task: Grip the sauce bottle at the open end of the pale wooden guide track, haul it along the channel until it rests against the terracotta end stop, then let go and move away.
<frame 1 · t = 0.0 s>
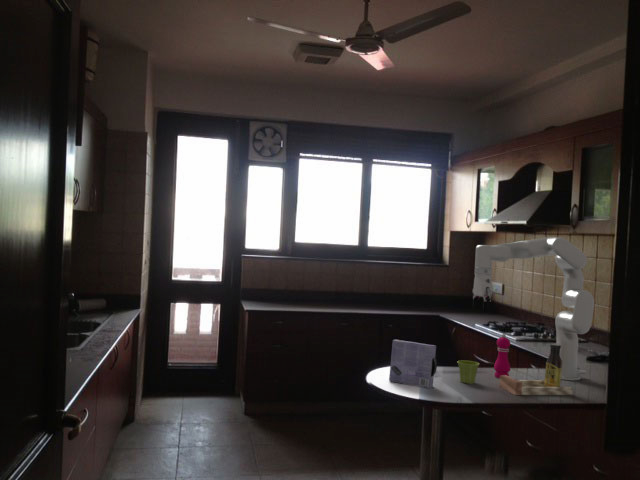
hand: (481, 309, 256), 31 cm above the countertop, tool pointing down, fingers open, 9 cm apart
pepper mill: (501, 377, 258), on the countertop
cake pan box: (412, 384, 235), on the countertop
sauce bottle: (552, 391, 236), on the countertop
guide track: (535, 390, 235), on the countertop
plant pot: (467, 382, 244), on the countertop
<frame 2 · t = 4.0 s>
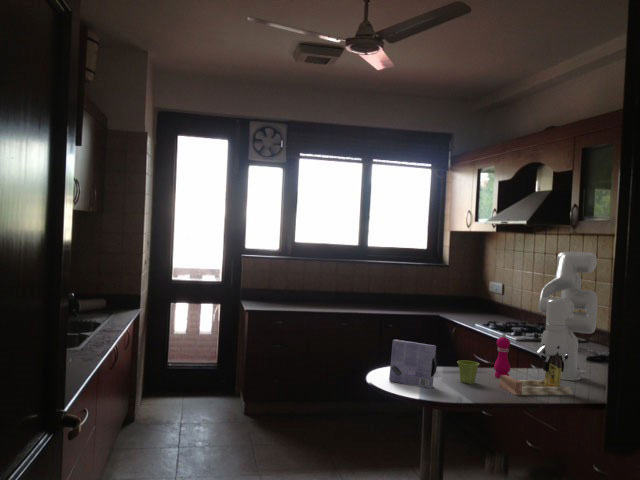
hand: (553, 370, 236), 9 cm above the countertop, tool pointing down, fingers closed on sauce bottle, 6 cm apart
sauce bottle: (552, 391, 236), on the countertop, touching gripper
everything else where it was.
when the fingers open (9 cm above the countertop, at t = 9.8 s): sauce bottle stays where it is, on the countertop.
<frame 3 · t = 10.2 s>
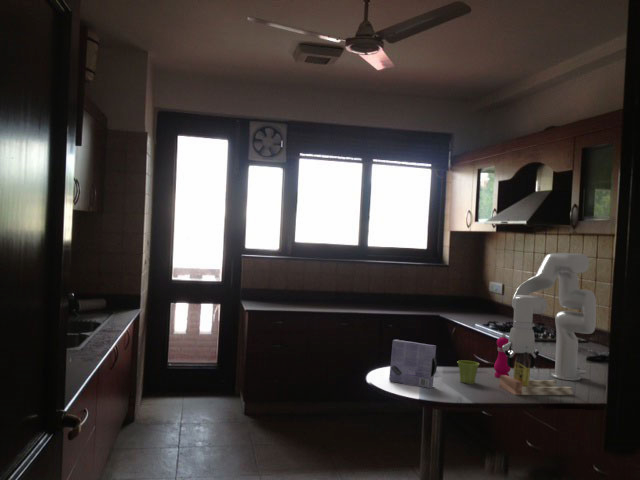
hand: (520, 366, 233), 10 cm above the countertop, tool pointing down, fingers open, 9 cm apart
sauce bottle: (520, 391, 234), on the countertop
everything else where it was.
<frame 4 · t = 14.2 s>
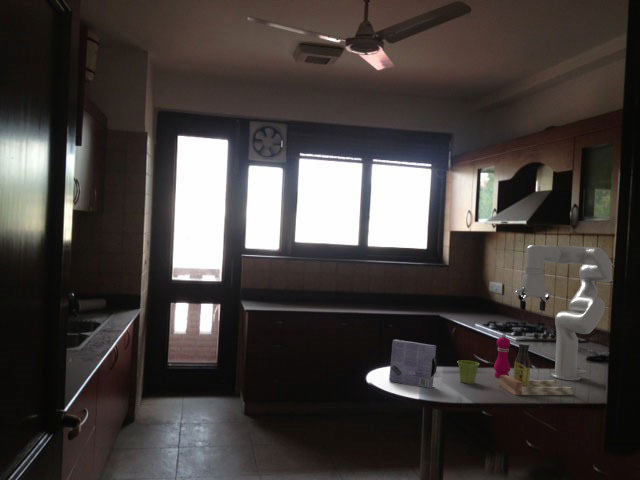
hand: (532, 310, 252), 32 cm above the countertop, tool pointing down, fingers open, 9 cm apart
nothing on the countertop moved.
at the end: sauce bottle 0.2 cm from the target spot, on the countertop; sauce bottle tilted 0°; the gripper is holding nothing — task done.
